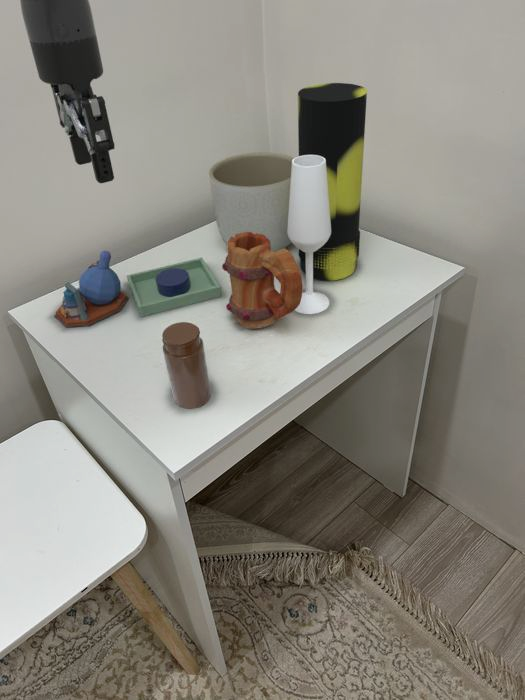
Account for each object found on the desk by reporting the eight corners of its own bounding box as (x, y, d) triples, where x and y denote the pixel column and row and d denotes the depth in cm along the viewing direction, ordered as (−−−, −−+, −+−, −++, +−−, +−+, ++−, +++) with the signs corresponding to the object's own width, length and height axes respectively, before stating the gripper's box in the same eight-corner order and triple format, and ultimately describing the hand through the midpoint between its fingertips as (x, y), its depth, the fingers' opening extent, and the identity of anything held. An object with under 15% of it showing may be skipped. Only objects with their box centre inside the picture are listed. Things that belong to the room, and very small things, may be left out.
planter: (269, 216, 118) (265, 145, 108) (321, 245, 107) (321, 168, 97) (202, 242, 110) (191, 168, 101) (250, 275, 99) (243, 196, 90)
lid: (186, 276, 99) (184, 265, 98) (194, 292, 95) (193, 280, 94) (154, 284, 98) (152, 273, 97) (161, 300, 94) (159, 289, 92)
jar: (182, 414, 73) (168, 350, 66) (168, 391, 77) (153, 329, 70) (217, 399, 75) (207, 336, 68) (201, 378, 78) (191, 315, 71)
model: (109, 284, 100) (97, 238, 94) (136, 303, 94) (124, 256, 88) (48, 311, 94) (31, 264, 88) (73, 334, 88) (56, 286, 82)
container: (339, 288, 94) (345, 105, 75) (287, 271, 100) (281, 96, 81) (368, 261, 101) (381, 86, 82) (318, 247, 106) (320, 79, 87)
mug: (218, 318, 90) (207, 235, 80) (255, 298, 94) (249, 216, 84) (278, 358, 81) (274, 271, 71) (317, 334, 85) (317, 248, 75)
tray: (140, 317, 91) (138, 307, 90) (128, 284, 99) (126, 275, 98) (221, 296, 95) (220, 286, 93) (203, 266, 103) (201, 257, 102)
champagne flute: (281, 300, 92) (275, 160, 77) (313, 287, 95) (313, 148, 80) (305, 319, 88) (303, 173, 73) (337, 304, 91) (342, 161, 75)
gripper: (115, 36, 59) (141, 181, 70) (75, 22, 69) (103, 151, 79) (46, 46, 56) (84, 195, 67) (14, 30, 66) (51, 163, 76)
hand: (94, 171), depth 73 cm, fingers open, 8 cm apart
